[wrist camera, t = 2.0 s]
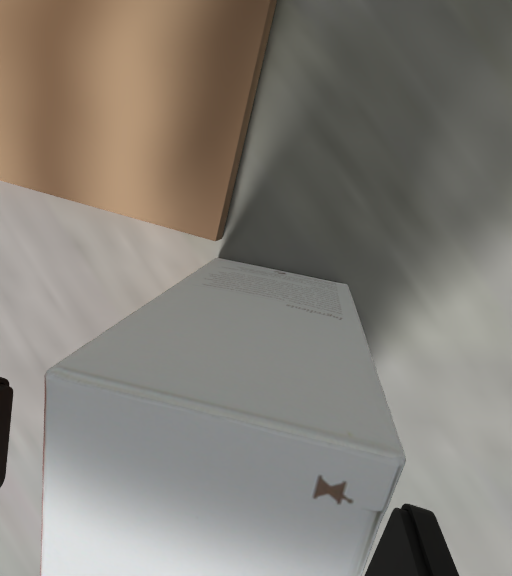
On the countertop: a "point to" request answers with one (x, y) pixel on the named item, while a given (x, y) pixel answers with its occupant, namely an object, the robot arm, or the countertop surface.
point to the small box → (220, 435)
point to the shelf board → (131, 103)
